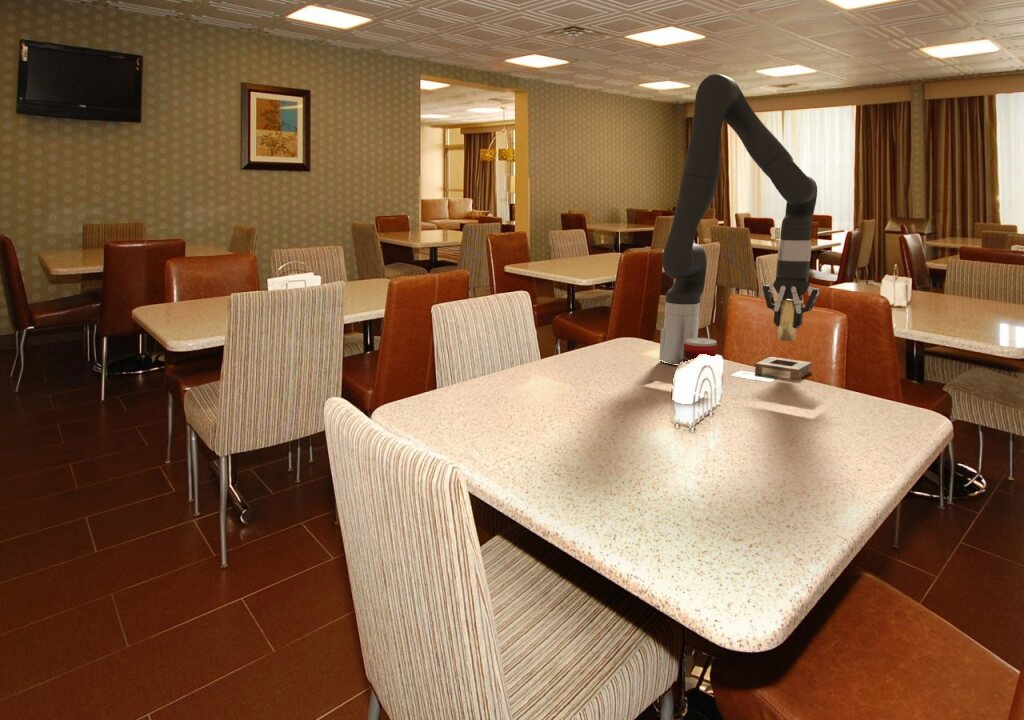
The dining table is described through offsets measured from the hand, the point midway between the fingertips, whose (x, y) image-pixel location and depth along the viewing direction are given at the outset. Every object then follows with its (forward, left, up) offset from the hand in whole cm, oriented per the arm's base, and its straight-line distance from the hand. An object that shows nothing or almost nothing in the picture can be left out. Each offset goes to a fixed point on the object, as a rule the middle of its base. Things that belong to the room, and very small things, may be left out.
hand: (787, 326), depth 170 cm
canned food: (-14, -20, -14) cm, 28 cm away
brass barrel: (0, 0, -3) cm, 3 cm away
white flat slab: (-4, -9, -13) cm, 17 cm away
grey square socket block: (0, 0, -13) cm, 13 cm away
